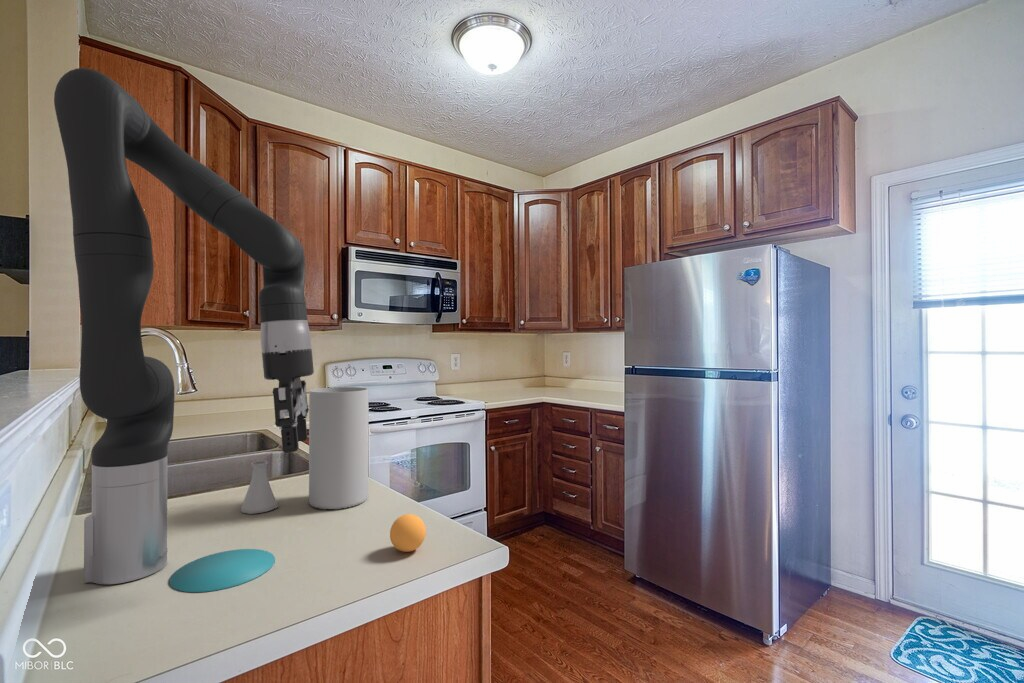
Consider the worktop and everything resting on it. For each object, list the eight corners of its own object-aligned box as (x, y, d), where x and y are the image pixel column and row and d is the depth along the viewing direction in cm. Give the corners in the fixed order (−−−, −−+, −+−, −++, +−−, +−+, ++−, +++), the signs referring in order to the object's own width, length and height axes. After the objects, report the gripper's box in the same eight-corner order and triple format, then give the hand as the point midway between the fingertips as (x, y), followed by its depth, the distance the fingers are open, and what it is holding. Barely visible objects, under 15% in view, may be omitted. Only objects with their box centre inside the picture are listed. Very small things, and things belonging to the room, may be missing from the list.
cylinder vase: (306, 513, 100) (306, 393, 100) (311, 495, 111) (311, 388, 112) (369, 507, 104) (369, 391, 104) (367, 490, 115) (367, 386, 116)
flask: (269, 501, 108) (269, 456, 108) (284, 508, 103) (284, 461, 103) (234, 509, 102) (234, 462, 102) (248, 517, 98) (249, 468, 98)
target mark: (151, 598, 67) (151, 596, 67) (191, 555, 80) (191, 553, 80) (262, 585, 70) (262, 584, 70) (283, 546, 84) (283, 545, 84)
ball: (389, 559, 78) (389, 523, 78) (389, 545, 84) (389, 510, 84) (427, 555, 80) (427, 519, 80) (424, 541, 86) (424, 507, 86)
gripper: (272, 350, 86) (281, 440, 86) (250, 351, 72) (260, 459, 72) (317, 346, 87) (325, 435, 88) (304, 347, 74) (313, 452, 74)
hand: (296, 446), depth 80 cm, fingers open, 8 cm apart
